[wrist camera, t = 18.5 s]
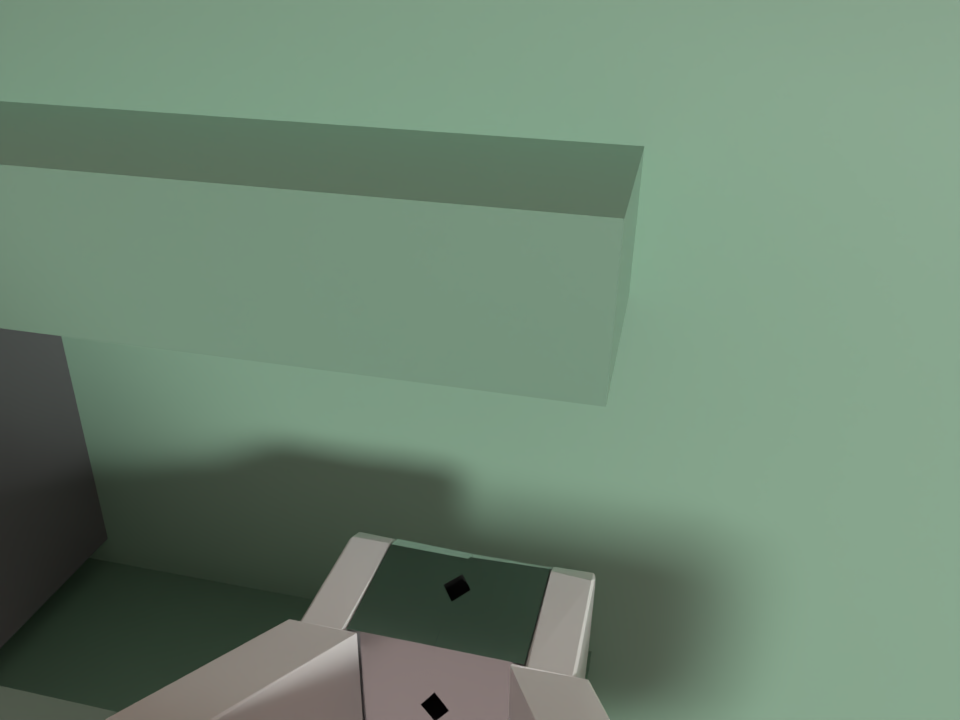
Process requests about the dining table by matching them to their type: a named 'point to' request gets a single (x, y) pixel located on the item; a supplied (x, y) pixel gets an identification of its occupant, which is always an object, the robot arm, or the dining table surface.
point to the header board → (710, 370)
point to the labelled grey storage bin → (41, 478)
